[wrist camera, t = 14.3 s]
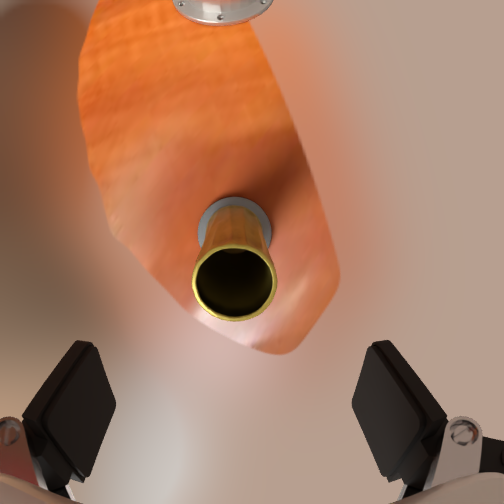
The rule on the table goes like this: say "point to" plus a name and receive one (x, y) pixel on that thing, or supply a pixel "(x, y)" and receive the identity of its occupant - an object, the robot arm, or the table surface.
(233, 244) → the vase
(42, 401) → the robot arm
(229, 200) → the coaster
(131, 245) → the table surface
